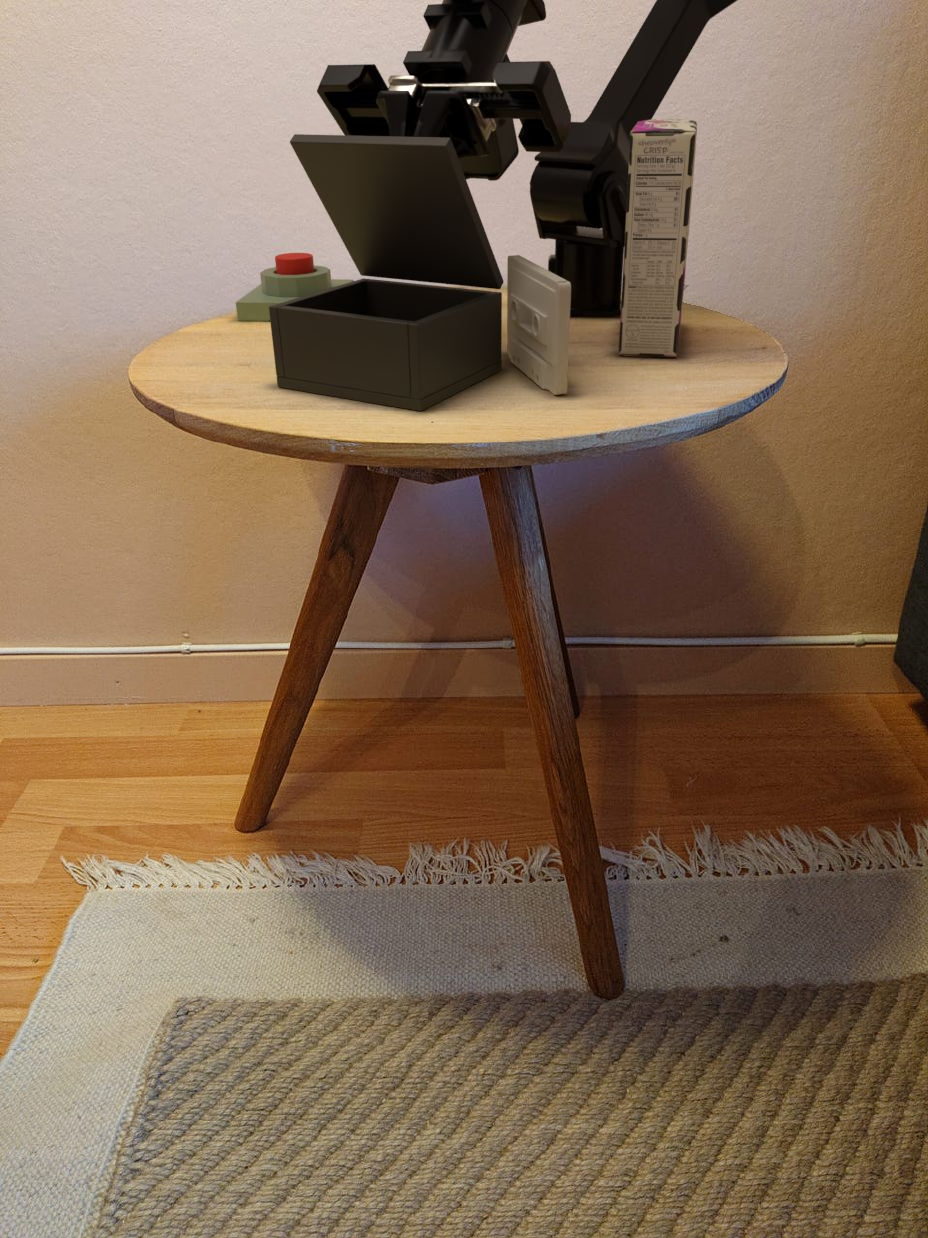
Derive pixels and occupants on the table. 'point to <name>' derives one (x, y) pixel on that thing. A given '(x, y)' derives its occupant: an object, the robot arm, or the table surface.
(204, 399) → the table surface
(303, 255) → the button
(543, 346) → the cassette
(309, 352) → the black lidded box
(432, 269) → the lid
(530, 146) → the robot arm
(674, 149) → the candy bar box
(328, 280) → the switch block
